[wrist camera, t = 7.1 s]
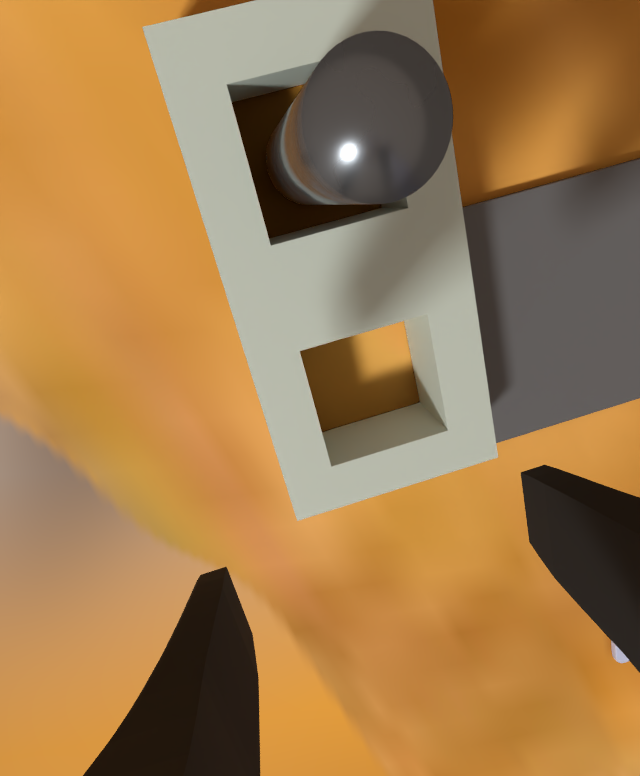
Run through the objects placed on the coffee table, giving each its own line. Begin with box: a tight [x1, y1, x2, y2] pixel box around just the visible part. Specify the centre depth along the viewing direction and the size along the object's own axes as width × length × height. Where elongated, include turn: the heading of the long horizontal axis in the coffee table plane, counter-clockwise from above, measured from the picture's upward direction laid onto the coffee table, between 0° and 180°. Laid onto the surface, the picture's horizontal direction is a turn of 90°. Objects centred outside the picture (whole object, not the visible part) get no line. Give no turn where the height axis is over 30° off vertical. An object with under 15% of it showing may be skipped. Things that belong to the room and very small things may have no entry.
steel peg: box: [266, 31, 453, 205], centre depth 14 cm, size 3×3×9 cm
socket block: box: [142, 0, 498, 521], centre depth 19 cm, size 16×8×3 cm, turn 14°
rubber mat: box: [462, 158, 640, 443], centre depth 22 cm, size 10×10×1 cm
